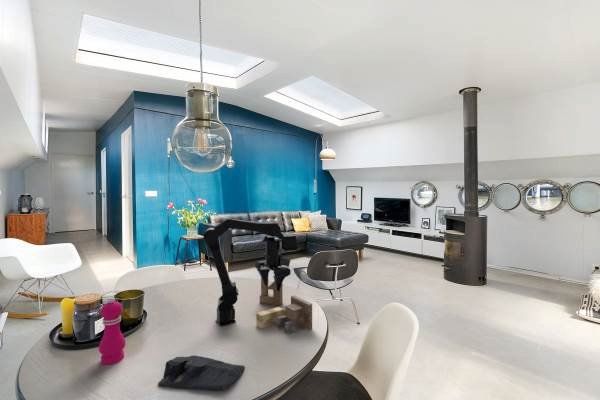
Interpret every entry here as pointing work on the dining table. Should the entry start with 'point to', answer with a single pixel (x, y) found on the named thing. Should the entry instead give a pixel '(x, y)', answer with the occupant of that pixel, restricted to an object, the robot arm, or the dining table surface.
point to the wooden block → (268, 298)
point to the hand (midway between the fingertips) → (271, 288)
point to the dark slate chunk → (200, 373)
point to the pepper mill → (112, 333)
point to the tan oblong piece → (269, 317)
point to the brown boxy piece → (296, 316)
